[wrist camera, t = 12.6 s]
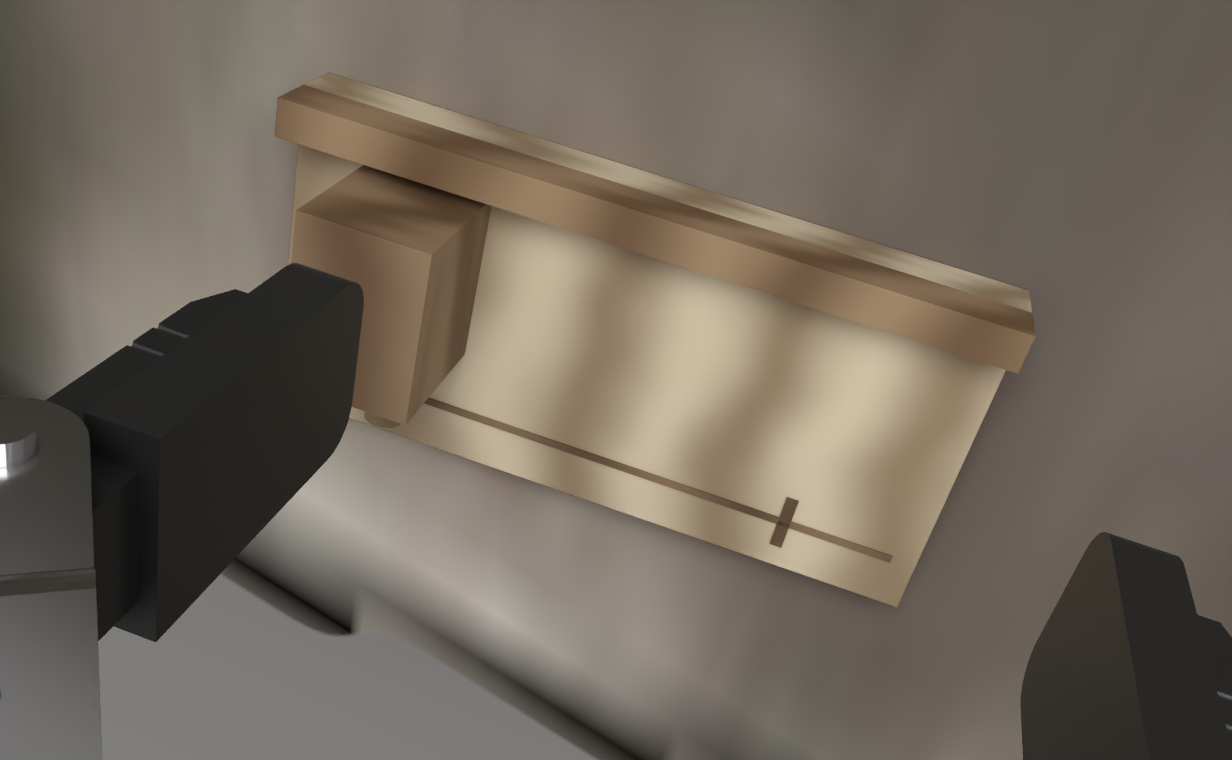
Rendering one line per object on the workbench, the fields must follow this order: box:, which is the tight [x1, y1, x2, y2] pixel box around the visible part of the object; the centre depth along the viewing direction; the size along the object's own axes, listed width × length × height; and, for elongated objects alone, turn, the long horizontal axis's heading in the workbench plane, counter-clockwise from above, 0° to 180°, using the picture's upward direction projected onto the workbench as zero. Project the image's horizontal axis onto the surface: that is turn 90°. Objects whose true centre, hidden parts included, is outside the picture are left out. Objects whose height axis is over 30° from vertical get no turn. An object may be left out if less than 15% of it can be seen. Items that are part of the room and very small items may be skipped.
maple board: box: [275, 73, 1035, 607], centre depth 46 cm, size 28×14×4 cm, turn 76°
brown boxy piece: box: [291, 165, 491, 428], centre depth 45 cm, size 5×10×6 cm, turn 167°
